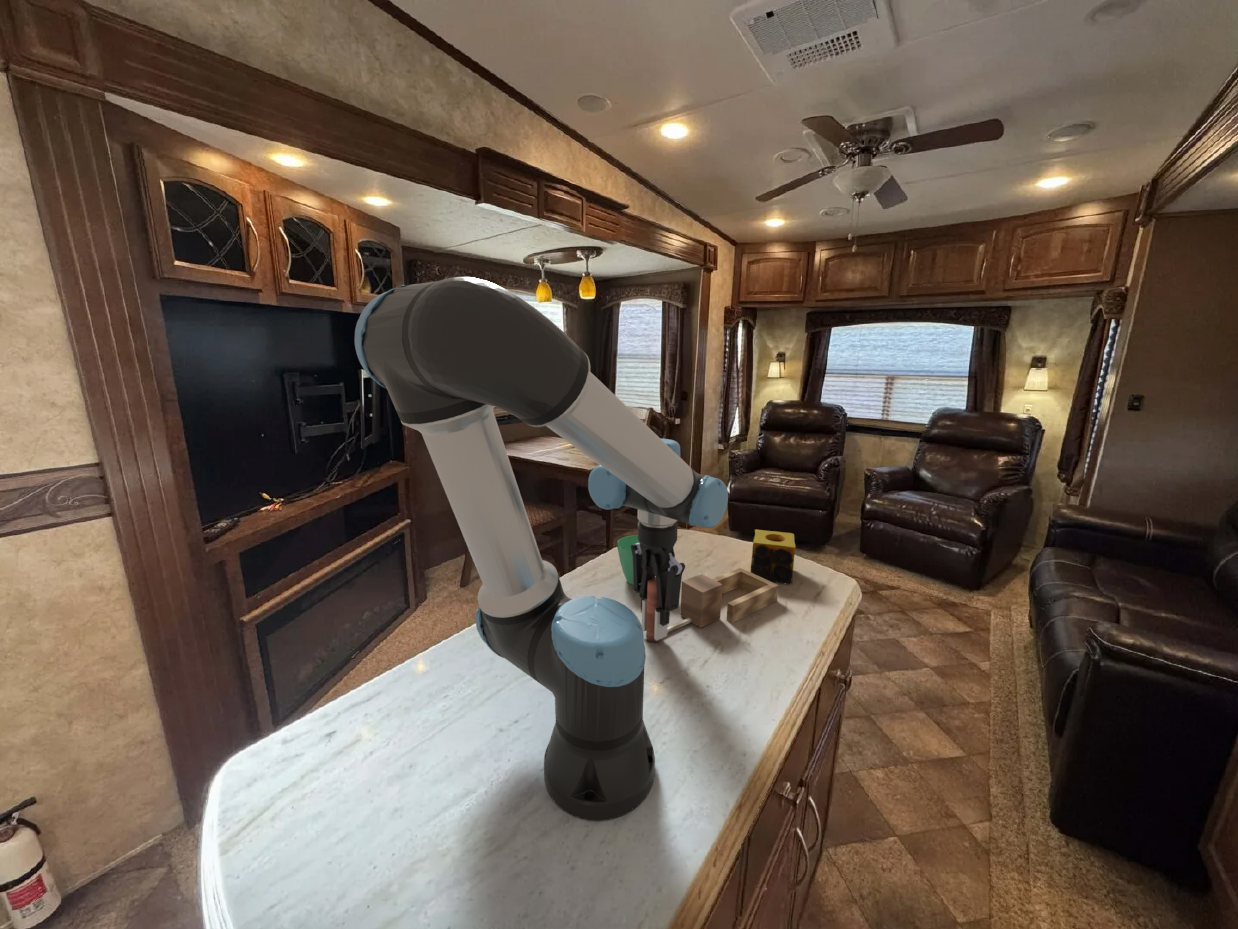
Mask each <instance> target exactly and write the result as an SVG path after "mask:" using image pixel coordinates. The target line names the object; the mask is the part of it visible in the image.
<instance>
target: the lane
mask: <svg viewBox="0 0 1238 929" xmlns="http://www.w3.org/2000/svg"><path fill="white" fill-rule="evenodd" d="M712 579H713V580H715V581H717V582H719V583H721V584H722V595H723V594H726V593H728V592H731V591H733V590H736V589H738V588H742V589H744V590H746V591H749V593H747V594H744V595H743V596H740V597H737V598H735V599H733V600H732V601H729V602H727V605H726V606H727V608H726V621H728V622H730V623H731V624H734V623H735V622H737V621H740V620H742V619H743V618H746V617H747V616H750V615H751V614H753V613H756V612H757V611H759V610H762V609H764V608H766V607H768V606H770V605H772V604H774V603H776V602H778V595H779V584H778V583H775V582H771V581H768V580H766V579H764V578H762V577H760V576H757V575H755V574H753V573H751V571H749V570H746V569H744V568H742V567H739V568H736V569H733V570H730V571H729V572H725V573H723V574H720V575H718V576H715V577H714V578H712Z"/></svg>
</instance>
